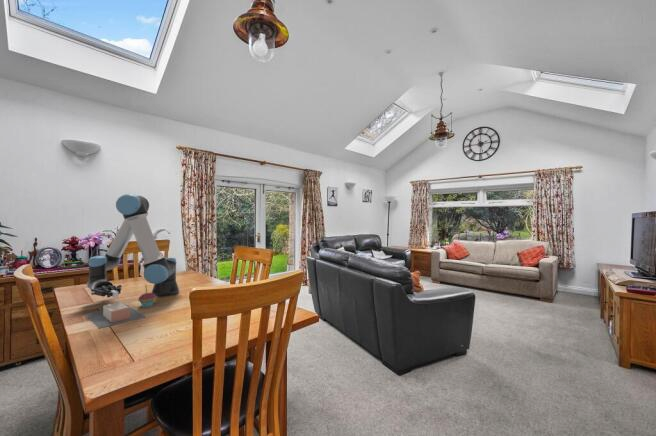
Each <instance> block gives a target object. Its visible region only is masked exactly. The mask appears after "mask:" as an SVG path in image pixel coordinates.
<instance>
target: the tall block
mask: <svg viewBox="0 0 656 436" xmlns="http://www.w3.org/2000/svg"><path fill="white" fill-rule="evenodd" d="M126 305H127V304H125V303H123V302H122V301H118V302H114V303H109V304H104V305H103V306H102V310H103V316H104V317H106V318H107V319H108V320H110V321H111V322H116V321H120V320H124V319H128V318H130V306H129V305H128V306H129V307H128V306H126Z"/></svg>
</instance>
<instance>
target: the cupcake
mask: <svg viewBox="0 0 656 436" xmlns="http://www.w3.org/2000/svg"><path fill="white" fill-rule="evenodd" d="M157 298H158V297H157V295H156V294H154V293H152V292H148V285H147V284H145V293H142V294H141V295H140V296H139V297H138V302H139V303H140V304H141V307H142V308H148V307H152V306H153V304H154V302H155V300H157Z"/></svg>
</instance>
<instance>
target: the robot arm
mask: <svg viewBox="0 0 656 436" xmlns="http://www.w3.org/2000/svg"><path fill="white" fill-rule="evenodd" d="M115 208H116V210H117V212H119V213H120V214H122V216H123V219H124V220H123V221H122V224H121V225H120V227H119V230H118V231H117V233H116V235H115V237H114V238H113V240H112V242H111V244H110V246H109V248H108V249H107V251H106V253H105V255H97V256H95V255H94V256H92V257H90V258H89V260H88V281H87V282H86V286H87V288H88V289H89V290H90V294H91V295H92V296H93V295H95V296H98V297H103V298H104V297H107V298H111V297H112V298H113V299H119V295H120V294H121V291H122V284H118V285H114V284H113V283H112V282H110V281H109V280H108V279H107V271H109V270H112V269H114V268H116V267H118V266H119V265H120V263H121V257H122V255H123V254H124V252H125V250H126V248H127V247H128V244H129V242H130V240H131V238H132V237H133V235H134V238H135V240H136V242H137V246H138V248H139V250H140V253H141V256H142V258H143V263H142V267H143V270H144V271H143V278H144V279H145V281H146V282H147V283H149V284H152V285H153V287H152V289H151V293H154V294H156V295H157V298H161V297H170V296H175V295H177V294H179V291H180V288H179V286H178V282H177V259H176V258H175V257H165V256H163V255H162V254H161V252H160V249H159V247H158V244H157V241H156V239H155V236H154V234H153V231H152V229H151V226H150V224H149V221H148V219H147V216H148V215H149V213H148V211H149V208H150V202H149V201H148V199H147V198H146V197H144V196H142V195H136V194H132V193H127V194H122V195H121V196H119V197H118V198H117V200H116V201H115Z"/></svg>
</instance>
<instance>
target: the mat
mask: <svg viewBox="0 0 656 436" xmlns="http://www.w3.org/2000/svg"><path fill="white" fill-rule="evenodd" d="M125 305H126V306H128V307H130V306H129V305H127V304H125ZM83 315H84V316H85V317H86V318H87V319H88V320H89V321H91V323H93V324H94V325H95V326H96V327H97V328H98V329H99V330H100V329H104V328H105V329H106V328H108V327H113V326H117V325H120V324H124V323H128V322H131V321H132V322H133V321H136V320H140V319H144V318H145V319H146V317H147V316H146V315H144V314H142V313H141V312H139V311H137V310H136V309H134V308H133V307H130V318H128V319H124V320H120V321H116V322H111V321H110V320H108V319H107V318H106V317H104V316H103V309H101V310H95V311H90V312H85V313H83Z"/></svg>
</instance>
